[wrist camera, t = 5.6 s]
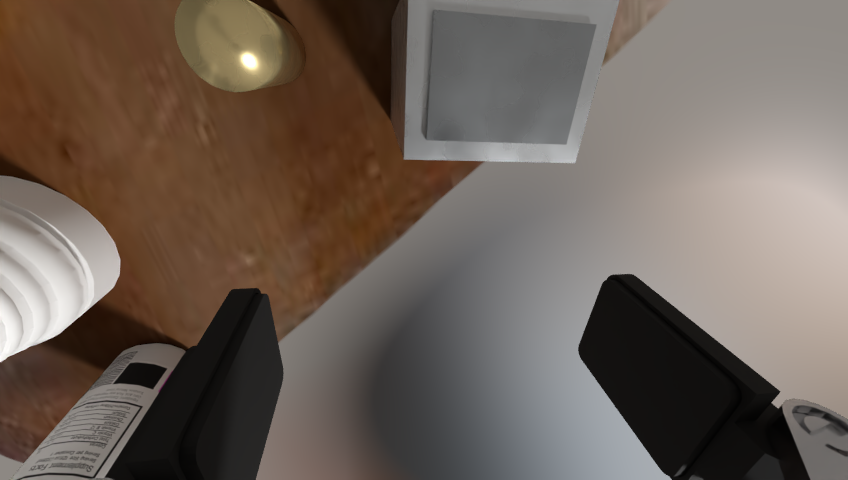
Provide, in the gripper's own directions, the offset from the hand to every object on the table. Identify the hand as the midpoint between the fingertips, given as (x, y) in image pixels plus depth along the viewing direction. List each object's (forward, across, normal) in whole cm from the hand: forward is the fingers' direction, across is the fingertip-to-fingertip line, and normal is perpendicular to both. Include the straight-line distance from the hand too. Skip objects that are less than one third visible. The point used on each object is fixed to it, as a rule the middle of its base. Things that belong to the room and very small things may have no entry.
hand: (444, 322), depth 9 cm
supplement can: (+22, +25, +24) cm, 41 cm away
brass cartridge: (+22, +9, -7) cm, 25 cm away
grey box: (+22, -4, -6) cm, 23 cm away
